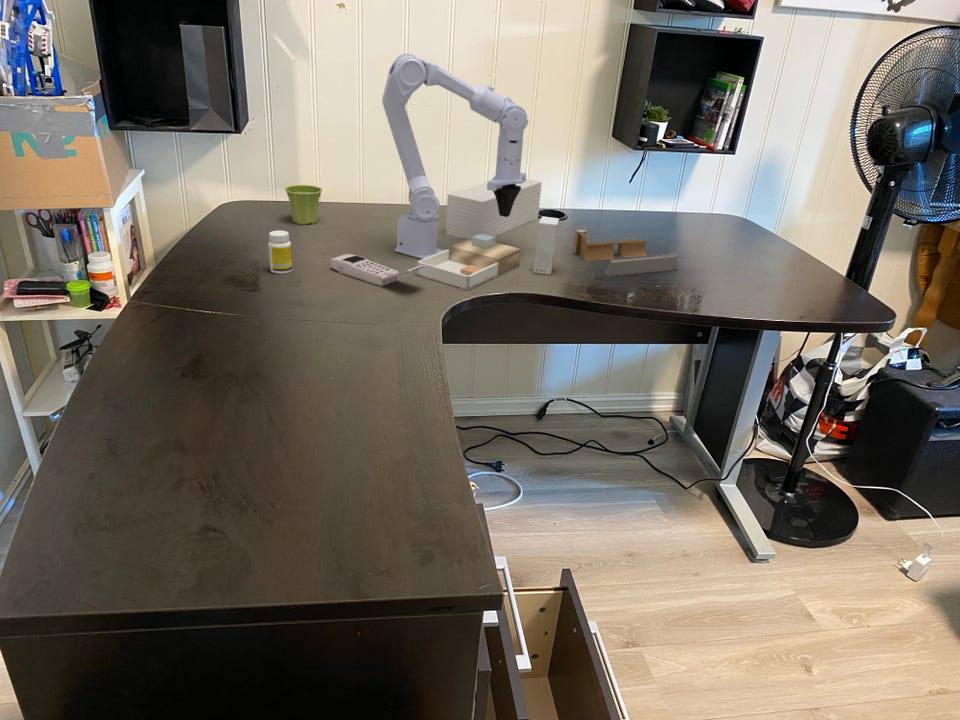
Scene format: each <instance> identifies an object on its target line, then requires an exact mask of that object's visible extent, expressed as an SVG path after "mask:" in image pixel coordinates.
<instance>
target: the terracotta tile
mask: <svg viewBox="0 0 960 720" xmlns="http://www.w3.org/2000/svg"><path fill="white" fill-rule="evenodd" d="M482 269H484V268H481V267H477V266H473V265H469V266H466V267H464V268H462V269H461V270H460V274H464V275H467V276H469V275H471V274H473V273H475V272H477V271H479V270H482Z"/></svg>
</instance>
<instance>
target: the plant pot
mask: <svg viewBox="0 0 960 720" xmlns="http://www.w3.org/2000/svg"><path fill="white" fill-rule="evenodd" d="M284 192H286V195H287V197H288V202H289V206H290V211H291V216H292V222H294V223H295V224H298V225H308V224H312V225H313V224H315V223H317V220H318V213H319V203H320V197H321V193H322V192H323V188H322V187H319V186H316V185H310V184H295V185H289V186H286V187H285V188H284Z"/></svg>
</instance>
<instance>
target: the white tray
mask: <svg viewBox="0 0 960 720" xmlns="http://www.w3.org/2000/svg"><path fill="white" fill-rule="evenodd" d="M423 264H425V267H423V268H420V269H417V270H415V275H416V276H419V275H420V276H419V277H423V278H426V279H428V280H432V279H433V281H435V280H436V281H435V282H438V281H439V283H442V284H445V283H446V284H445V285H448V284H450V285H449V286H452V285H453V287H455V286H456V288H458V287H459V288H458V289H462V290H465V289H466V290H465V291H469V289H470V290H472V289H474V288H476V287H478V286H480V285H483V284H484V283H486V282H488V281H490V280H492V279H494V278H496V277H498V276H497V273H498V263H495V264H492V265H490V266H488V267H486V268H484V269H482V270H479V271H477V272H475V273H473V274H471V275H469V276H467V275H464V274H460V270H461V269H462V268H464V267H466V266H468V265H464V264H461V263H457V262H453V261H450V249H445V250H444V251H442V252H440V253H437V254H435V255H432V256H430V257H427V258H425V259H420V260H417V261H416V262H415V267H417V266H420V265H423ZM495 276H496V277H495ZM493 277H494V278H493ZM491 278H492V279H491ZM485 281H486V282H485ZM483 282H484V283H483ZM479 284H480V285H479Z"/></svg>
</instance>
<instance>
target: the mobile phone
mask: <svg viewBox="0 0 960 720" xmlns="http://www.w3.org/2000/svg"><path fill="white" fill-rule="evenodd" d="M329 260H330V267H331V268H332V269H334V270H335V271H338V273H339V274H343V275H346V276H349V277H352V278H355V279H358V280H361V281H363V282H367V283H370V284H373V285H376V286H378V287H383V286H386V285H389V283H390V284H392V283H395V282H397V281H398V277H400V276H402V275H403V276H404V275H405V274H409V273H412V272H414V271H416V270H417V269H420V268H423V267H425V264H423V265H420V266H417V267H416V266H414V267H411V268H408V269H405V270H402V271H400V272H399V271H398V270H397V269H393V268H390V267H388V266H385V265H383V264H379V263H377V262H375V261H371V260H369V259H368V258H366V257H364V256H360V255H357V254H356V255H355V254H351V253H350V254H349V253H346V254H342V255H339V256H336V257H333V258H330V259H329ZM394 281H395V282H394ZM391 282H392V283H391Z"/></svg>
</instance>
